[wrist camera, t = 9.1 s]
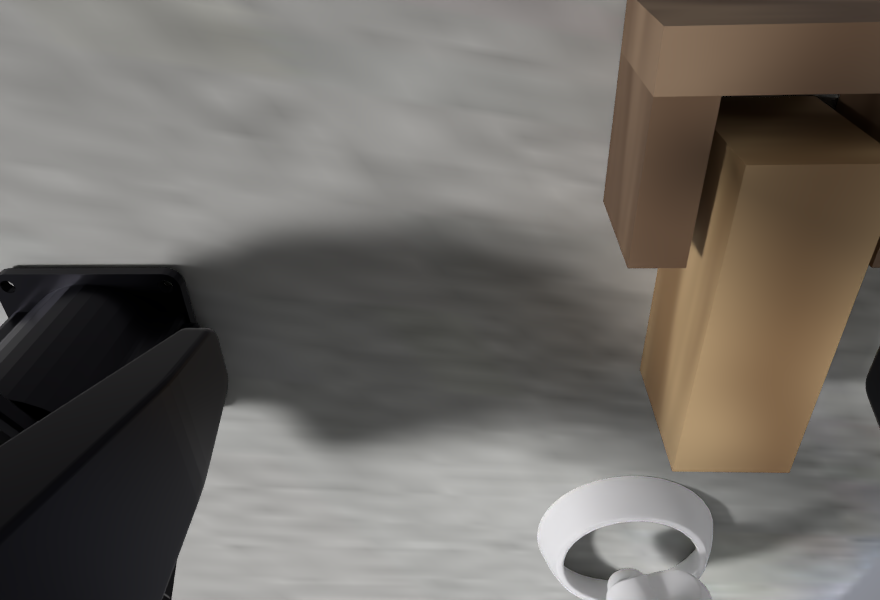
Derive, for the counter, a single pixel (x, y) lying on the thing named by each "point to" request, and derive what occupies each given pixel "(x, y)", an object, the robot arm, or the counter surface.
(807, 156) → the wooden block
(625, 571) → the vr controller
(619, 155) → the slot block
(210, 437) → the robot arm
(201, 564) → the counter surface
